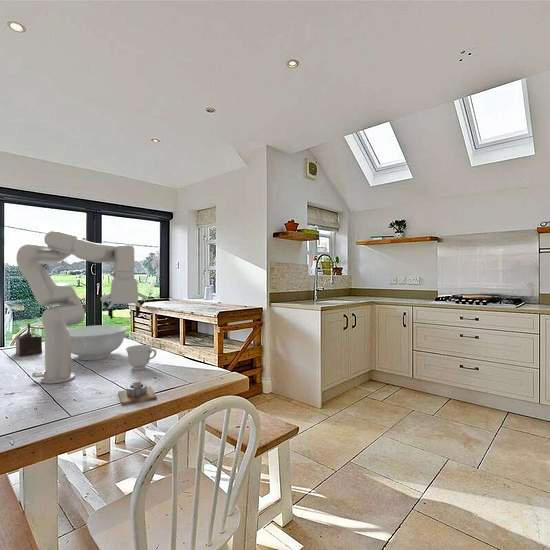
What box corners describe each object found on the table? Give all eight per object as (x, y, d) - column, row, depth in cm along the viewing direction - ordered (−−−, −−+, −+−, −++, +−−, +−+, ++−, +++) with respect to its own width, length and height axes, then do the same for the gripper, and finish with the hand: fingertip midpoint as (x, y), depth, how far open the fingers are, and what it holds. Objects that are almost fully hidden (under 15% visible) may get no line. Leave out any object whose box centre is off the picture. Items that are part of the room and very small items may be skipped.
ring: (127, 398, 126) (128, 390, 126) (125, 392, 132) (125, 384, 132) (148, 395, 130) (148, 387, 129) (145, 389, 136) (145, 381, 136)
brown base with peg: (121, 405, 123) (121, 389, 123) (118, 394, 133) (118, 379, 133) (156, 399, 129) (156, 384, 128) (150, 388, 139) (150, 375, 139)
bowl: (69, 351, 197) (69, 325, 197) (130, 347, 206) (130, 323, 206) (50, 367, 166) (49, 337, 166) (123, 362, 175) (123, 334, 175)
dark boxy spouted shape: (19, 357, 183) (19, 323, 183) (15, 353, 191) (15, 320, 190) (53, 351, 195) (53, 320, 194) (48, 348, 202) (47, 317, 202)
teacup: (149, 373, 158) (149, 351, 158) (120, 371, 161) (120, 349, 161) (162, 366, 170) (162, 346, 170) (135, 364, 173) (135, 344, 173)
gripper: (101, 275, 133) (101, 320, 133) (148, 275, 141) (148, 317, 142) (100, 275, 139) (100, 317, 140) (145, 275, 148) (145, 315, 148)
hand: (124, 317), depth 141 cm, fingers open, 9 cm apart
